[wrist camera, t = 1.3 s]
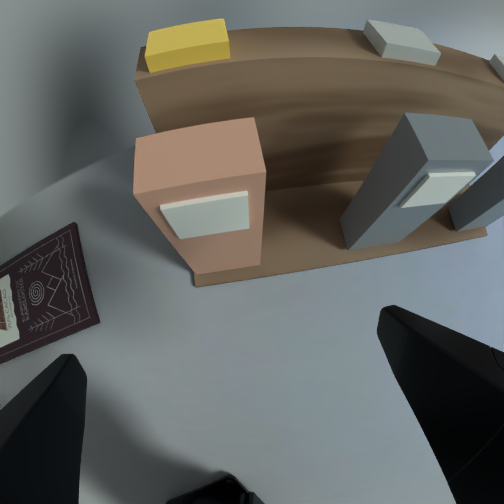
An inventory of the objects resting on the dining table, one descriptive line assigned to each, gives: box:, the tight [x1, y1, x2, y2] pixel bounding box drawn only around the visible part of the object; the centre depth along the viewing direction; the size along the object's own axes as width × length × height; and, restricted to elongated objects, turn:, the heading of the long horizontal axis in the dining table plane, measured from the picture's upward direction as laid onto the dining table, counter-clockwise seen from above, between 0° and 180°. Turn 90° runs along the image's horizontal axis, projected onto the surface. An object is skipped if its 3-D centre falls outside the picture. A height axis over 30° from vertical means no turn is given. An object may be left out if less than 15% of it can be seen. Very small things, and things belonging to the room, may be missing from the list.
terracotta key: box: [133, 117, 266, 275], centre depth 16 cm, size 3×4×12 cm, turn 99°
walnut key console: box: [135, 18, 504, 287], centre depth 17 cm, size 10×27×14 cm, turn 99°
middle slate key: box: [340, 113, 494, 251], centre depth 16 cm, size 3×4×12 cm, turn 99°
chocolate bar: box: [0, 222, 100, 364], centre depth 21 cm, size 9×1×18 cm
